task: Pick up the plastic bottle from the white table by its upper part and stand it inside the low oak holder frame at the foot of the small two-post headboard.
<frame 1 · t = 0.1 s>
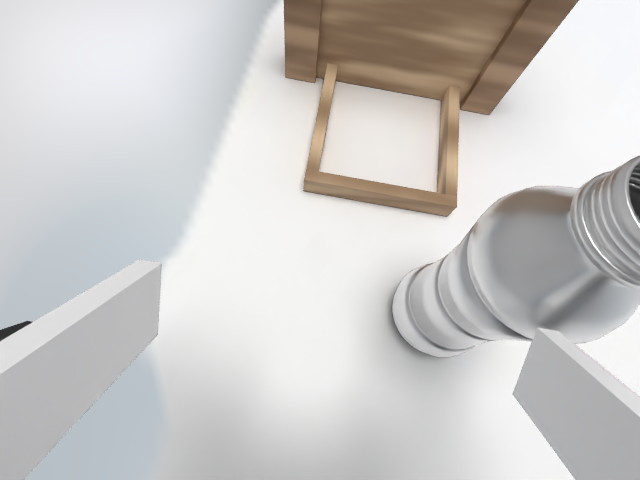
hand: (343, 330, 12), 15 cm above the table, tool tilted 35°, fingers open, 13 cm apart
headboard holder: (382, 139, 34), on the table
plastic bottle: (424, 314, 28), on the table
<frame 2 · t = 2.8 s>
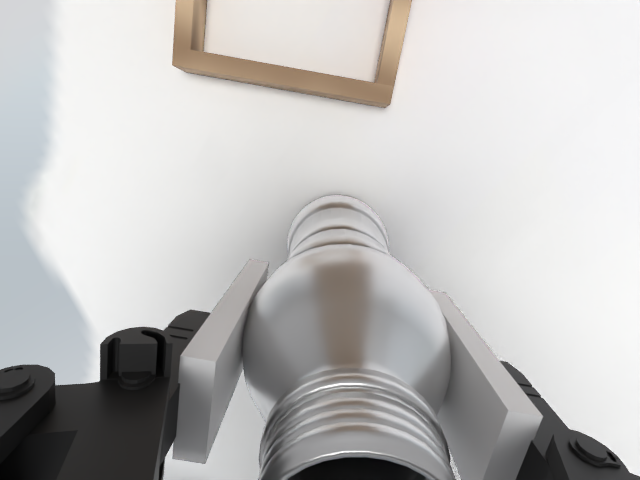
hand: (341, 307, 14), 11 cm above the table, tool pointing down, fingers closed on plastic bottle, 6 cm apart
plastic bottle: (336, 235, 25), on the table, touching gripper
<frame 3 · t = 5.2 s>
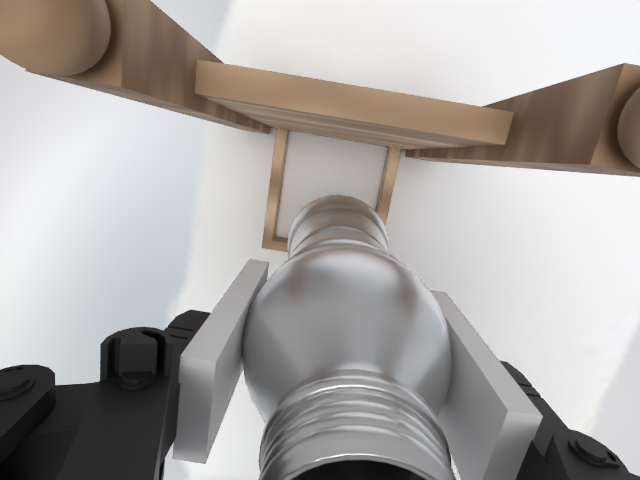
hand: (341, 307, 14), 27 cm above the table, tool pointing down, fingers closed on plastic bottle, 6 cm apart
headboard holder: (329, 193, 40), on the table
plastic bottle: (337, 236, 25), point 15 cm above the table, touching gripper
when the fingers open (12 cm above the table, at t = 7.7 s): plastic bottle stays where it is, resting in headboard holder.
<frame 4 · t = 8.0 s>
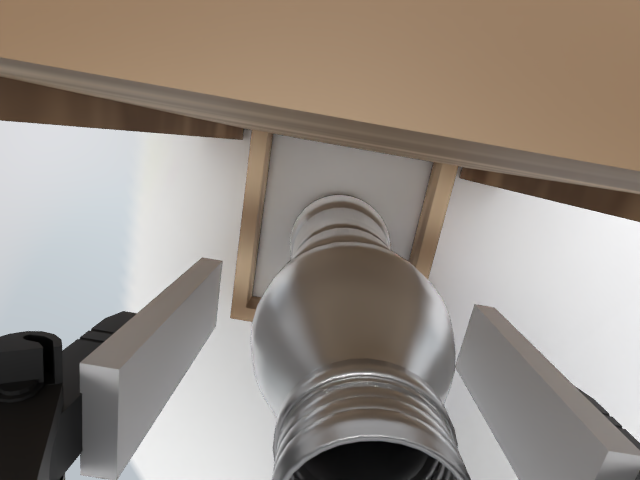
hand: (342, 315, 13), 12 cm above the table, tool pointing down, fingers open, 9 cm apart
headboard holder: (337, 232, 25), on the table
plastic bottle: (338, 235, 25), resting in headboard holder
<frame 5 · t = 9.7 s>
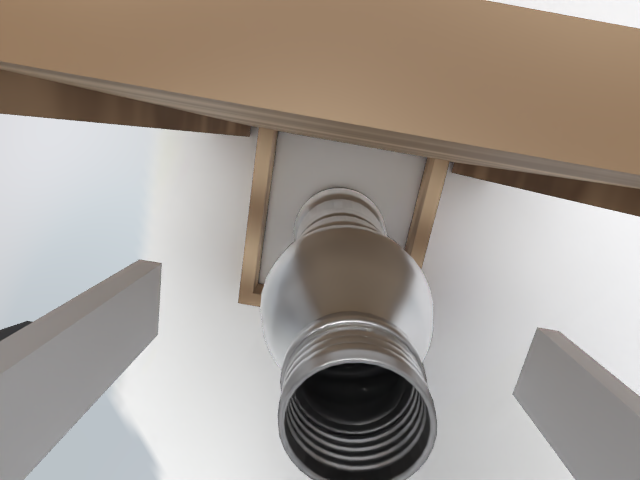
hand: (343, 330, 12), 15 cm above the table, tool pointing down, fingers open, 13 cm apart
headboard holder: (337, 223, 27), on the table
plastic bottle: (338, 226, 27), resting in headboard holder
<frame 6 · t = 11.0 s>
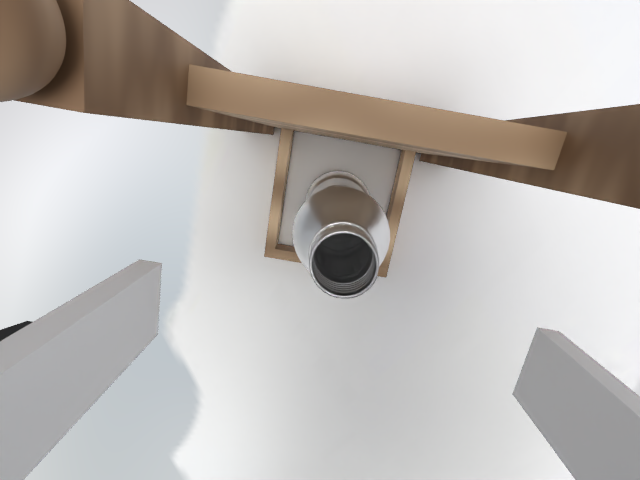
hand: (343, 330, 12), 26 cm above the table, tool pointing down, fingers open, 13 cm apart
headboard holder: (337, 198, 37), on the table
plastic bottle: (337, 200, 37), resting in headboard holder
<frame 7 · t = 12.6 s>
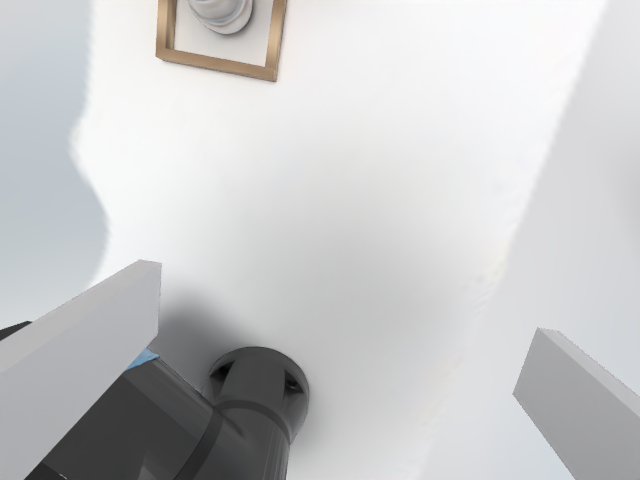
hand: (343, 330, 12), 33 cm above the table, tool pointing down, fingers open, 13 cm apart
headboard holder: (226, 2, 39), on the table
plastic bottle: (227, 6, 39), resting in headboard holder
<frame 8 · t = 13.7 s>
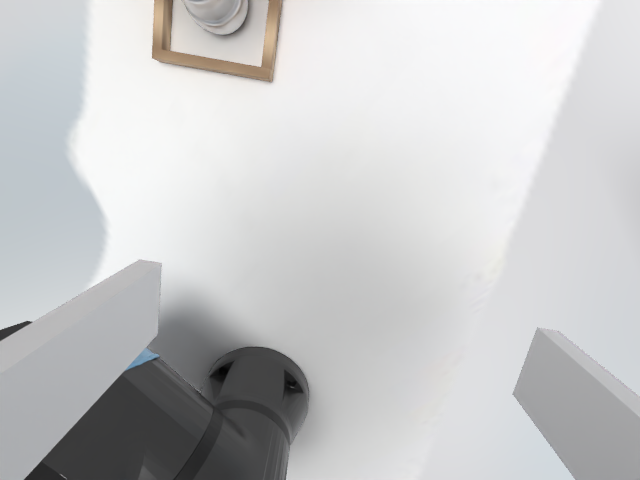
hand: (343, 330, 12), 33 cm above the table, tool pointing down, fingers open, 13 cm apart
headboard holder: (222, 3, 39), on the table
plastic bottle: (223, 7, 39), resting in headboard holder
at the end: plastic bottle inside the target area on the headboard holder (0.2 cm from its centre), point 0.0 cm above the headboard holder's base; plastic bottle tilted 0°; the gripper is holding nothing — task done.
